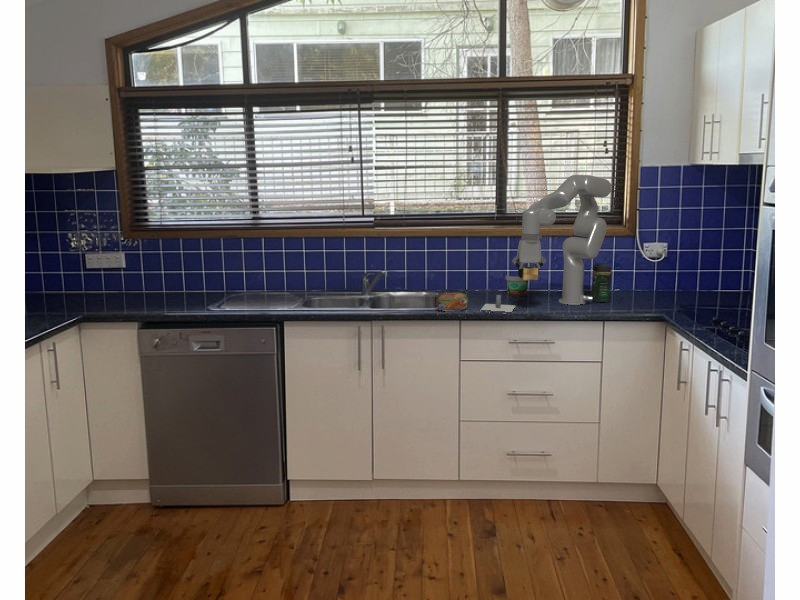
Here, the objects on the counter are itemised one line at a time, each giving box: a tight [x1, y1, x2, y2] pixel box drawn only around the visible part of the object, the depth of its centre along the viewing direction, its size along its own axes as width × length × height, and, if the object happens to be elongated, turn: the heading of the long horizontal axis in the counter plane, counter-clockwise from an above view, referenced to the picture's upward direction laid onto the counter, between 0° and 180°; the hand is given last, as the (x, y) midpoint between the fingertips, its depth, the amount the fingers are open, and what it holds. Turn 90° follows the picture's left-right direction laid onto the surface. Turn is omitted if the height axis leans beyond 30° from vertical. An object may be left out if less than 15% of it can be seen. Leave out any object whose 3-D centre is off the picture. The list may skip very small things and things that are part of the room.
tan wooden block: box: [519, 266, 539, 281], centre depth 310 cm, size 6×6×5 cm
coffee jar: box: [590, 262, 612, 303], centre depth 335 cm, size 10×8×19 cm
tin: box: [435, 291, 470, 311], centre depth 314 cm, size 15×3×8 cm, turn 105°
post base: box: [480, 294, 516, 313], centre depth 316 cm, size 14×14×7 cm
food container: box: [504, 275, 529, 297], centre depth 350 cm, size 12×6×10 cm, turn 73°
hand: (528, 277), depth 310 cm, fingers closed on tan wooden block, 6 cm apart
